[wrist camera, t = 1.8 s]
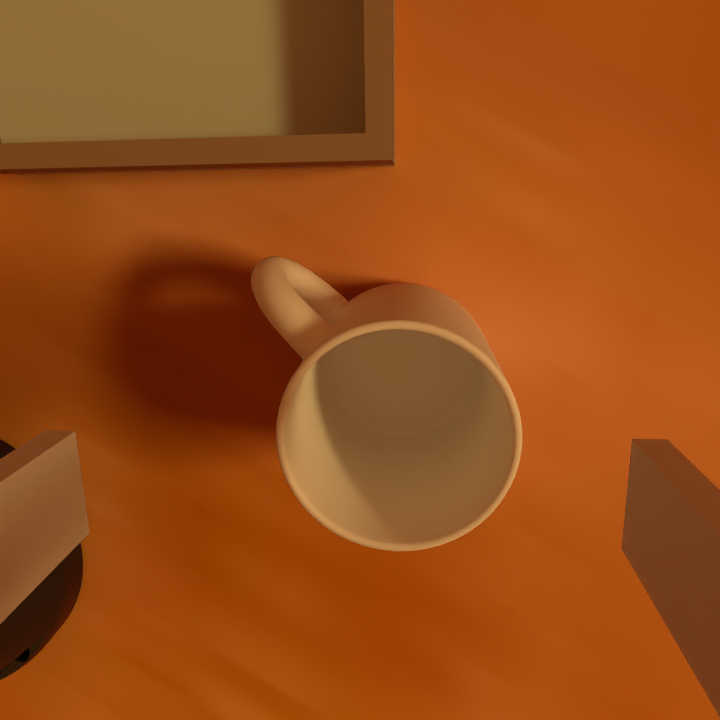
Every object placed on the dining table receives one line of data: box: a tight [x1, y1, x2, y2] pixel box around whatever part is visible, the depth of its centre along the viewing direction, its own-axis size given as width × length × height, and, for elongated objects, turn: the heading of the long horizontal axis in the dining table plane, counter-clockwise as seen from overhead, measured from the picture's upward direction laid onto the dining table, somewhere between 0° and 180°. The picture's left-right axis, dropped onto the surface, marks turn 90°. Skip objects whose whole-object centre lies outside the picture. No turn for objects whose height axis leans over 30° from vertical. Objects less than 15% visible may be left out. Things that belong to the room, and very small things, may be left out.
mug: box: [251, 256, 522, 551], centre depth 26 cm, size 12×8×10 cm
